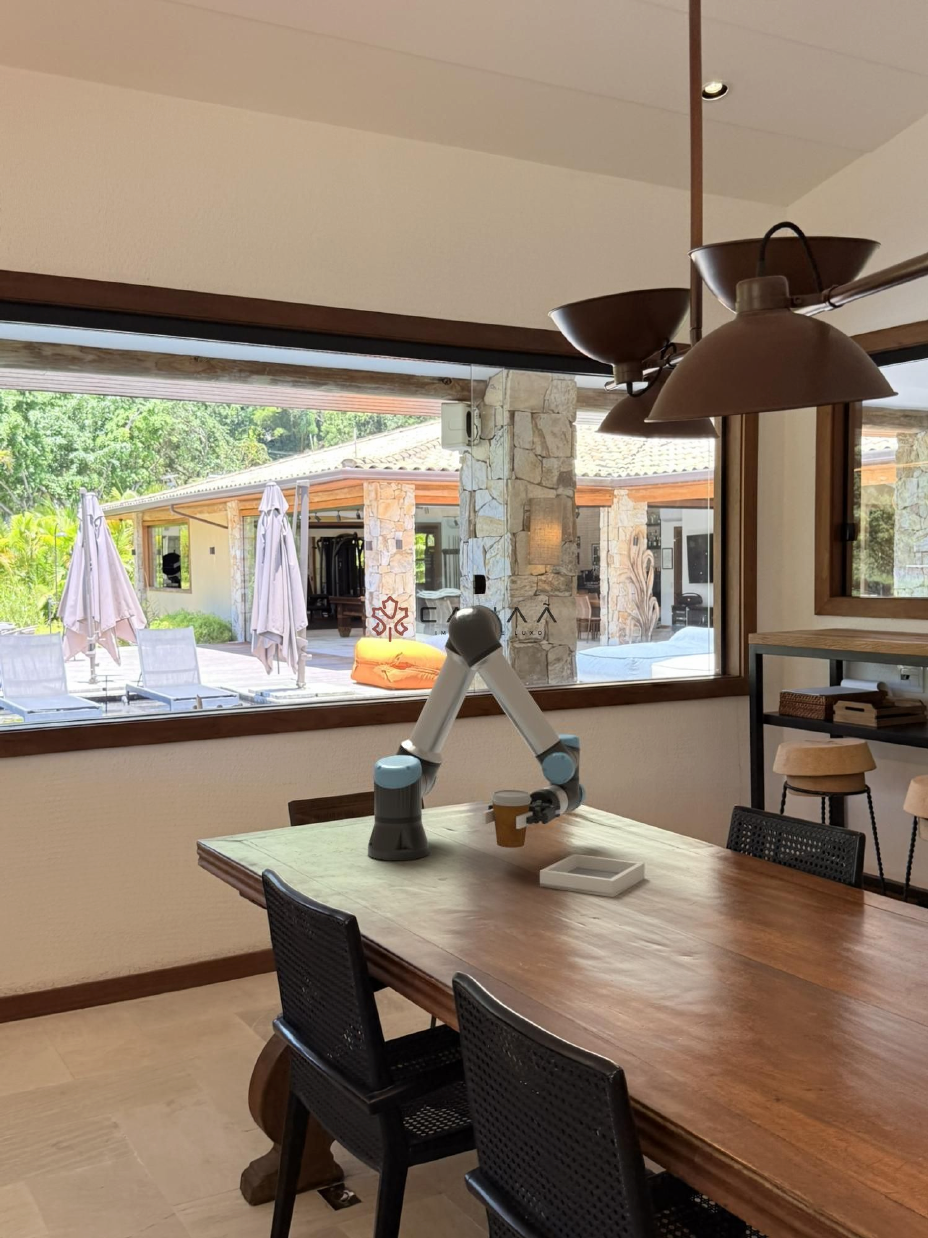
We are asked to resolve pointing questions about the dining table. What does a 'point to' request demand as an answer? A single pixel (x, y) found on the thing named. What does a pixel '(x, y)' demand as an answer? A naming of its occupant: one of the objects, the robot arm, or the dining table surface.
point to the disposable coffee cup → (509, 816)
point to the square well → (592, 875)
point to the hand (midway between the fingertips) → (500, 820)
